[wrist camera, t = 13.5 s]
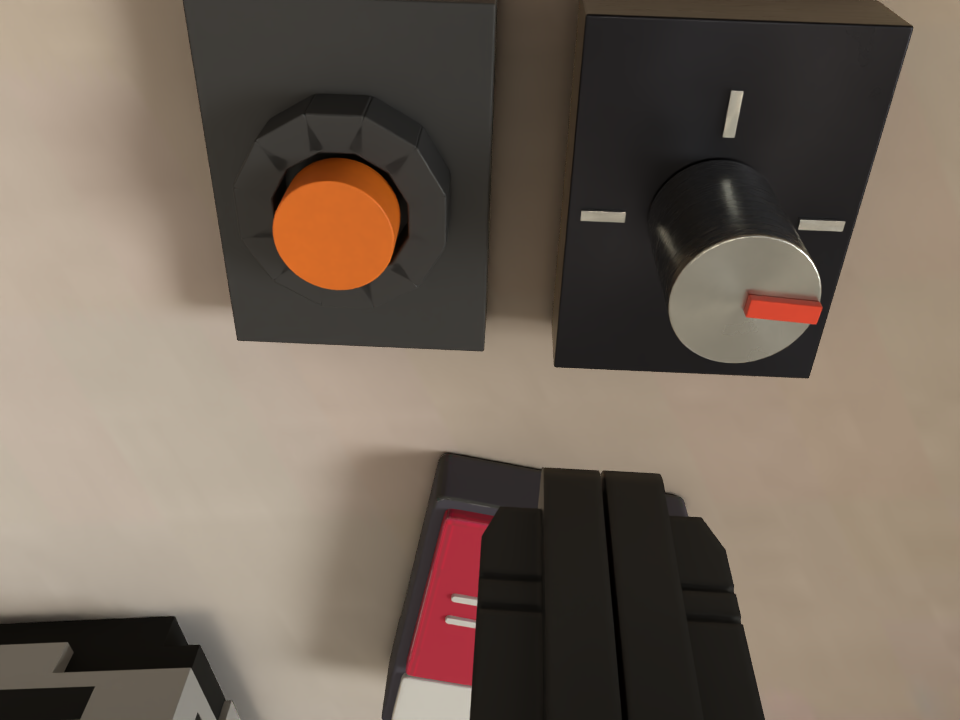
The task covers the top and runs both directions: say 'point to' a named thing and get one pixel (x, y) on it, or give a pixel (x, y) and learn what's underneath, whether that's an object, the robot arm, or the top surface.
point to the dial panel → (711, 152)
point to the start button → (337, 224)
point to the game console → (106, 672)
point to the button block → (353, 156)
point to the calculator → (453, 587)
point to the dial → (731, 263)
